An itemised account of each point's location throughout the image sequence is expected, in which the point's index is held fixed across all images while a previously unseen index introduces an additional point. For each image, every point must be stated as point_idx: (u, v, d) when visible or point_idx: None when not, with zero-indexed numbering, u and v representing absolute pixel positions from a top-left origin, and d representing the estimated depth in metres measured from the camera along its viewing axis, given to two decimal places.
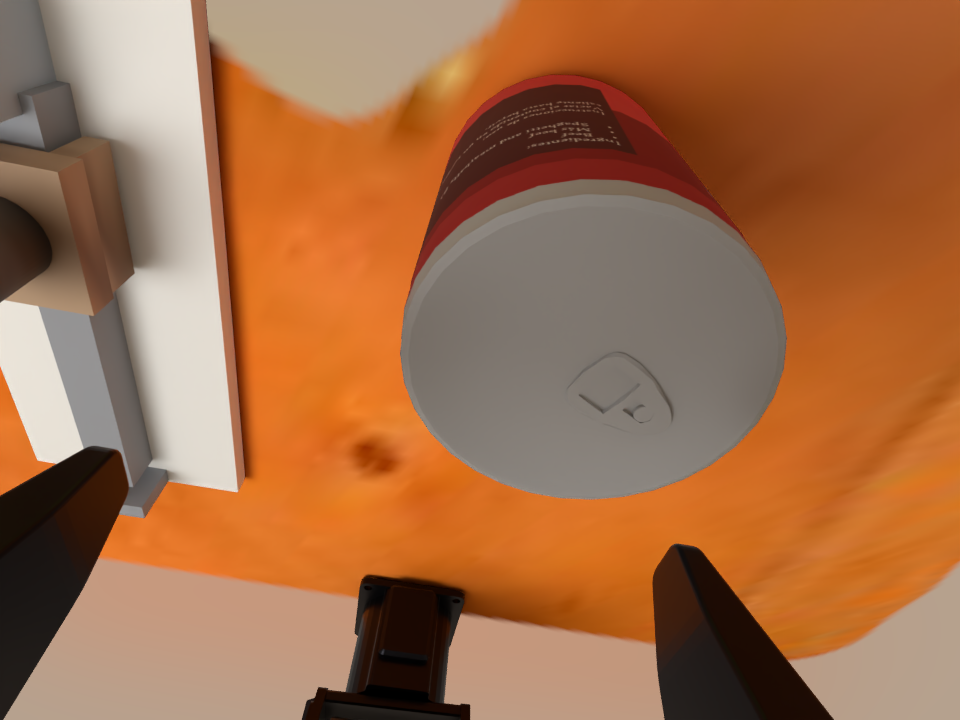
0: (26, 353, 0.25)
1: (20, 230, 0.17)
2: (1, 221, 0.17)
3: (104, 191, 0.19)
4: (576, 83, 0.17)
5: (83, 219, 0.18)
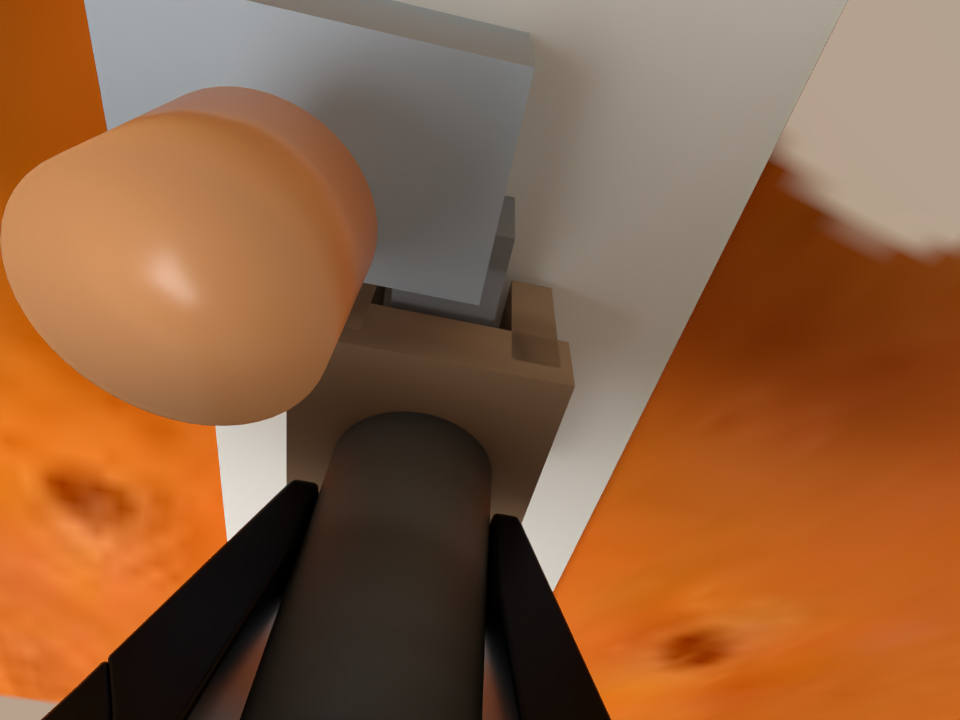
0: None
1: (484, 483, 0.09)
2: (469, 478, 0.09)
3: None
4: None
5: None
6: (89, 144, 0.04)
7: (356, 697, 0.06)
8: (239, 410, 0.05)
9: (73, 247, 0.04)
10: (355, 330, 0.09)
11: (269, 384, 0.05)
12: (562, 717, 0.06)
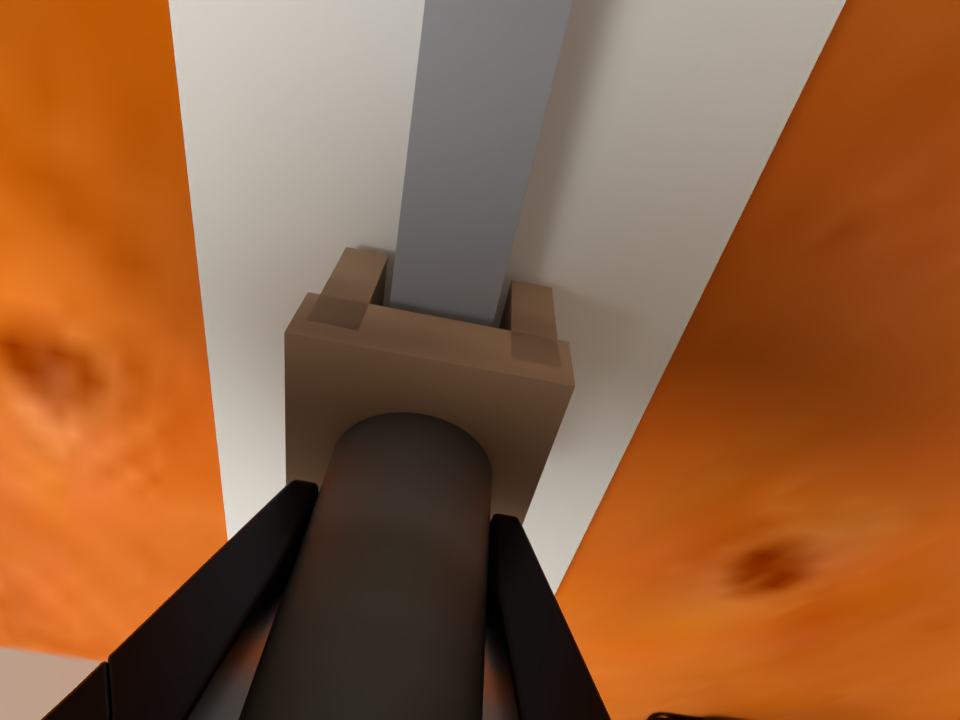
0: (270, 415, 0.14)
1: (484, 484, 0.09)
2: (469, 479, 0.09)
3: None
4: None
5: None
6: None
7: (355, 700, 0.06)
8: None
9: None
10: (353, 330, 0.09)
11: None
12: (562, 717, 0.06)
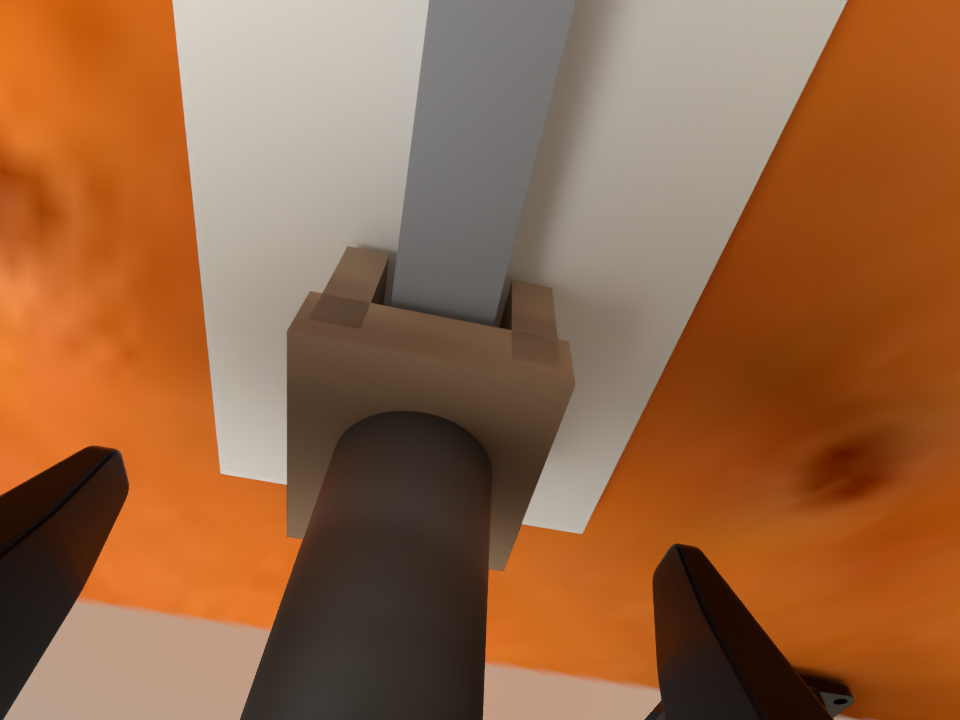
0: (267, 242, 0.11)
1: (484, 483, 0.09)
2: (470, 478, 0.09)
3: None
4: None
5: None
6: None
7: (357, 695, 0.06)
8: None
9: None
10: (355, 329, 0.09)
11: None
12: None
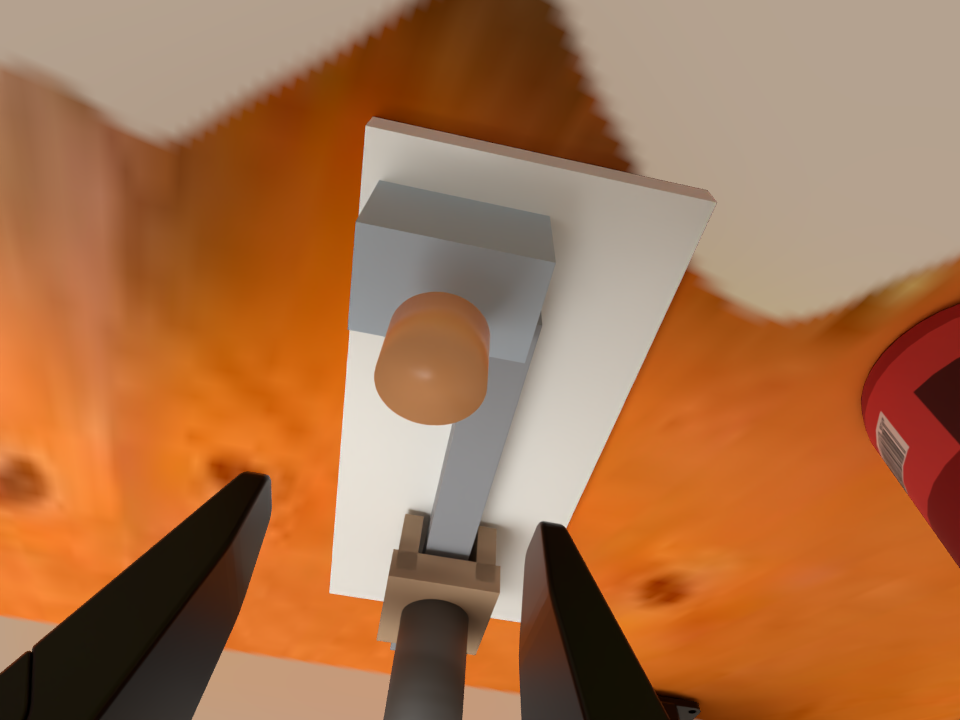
0: (368, 507, 0.25)
1: (464, 629, 0.23)
2: (458, 629, 0.22)
3: None
4: None
5: None
6: (417, 334, 0.11)
7: (423, 717, 0.19)
8: (444, 419, 0.13)
9: (402, 364, 0.12)
10: (413, 571, 0.22)
11: (458, 409, 0.12)
12: None
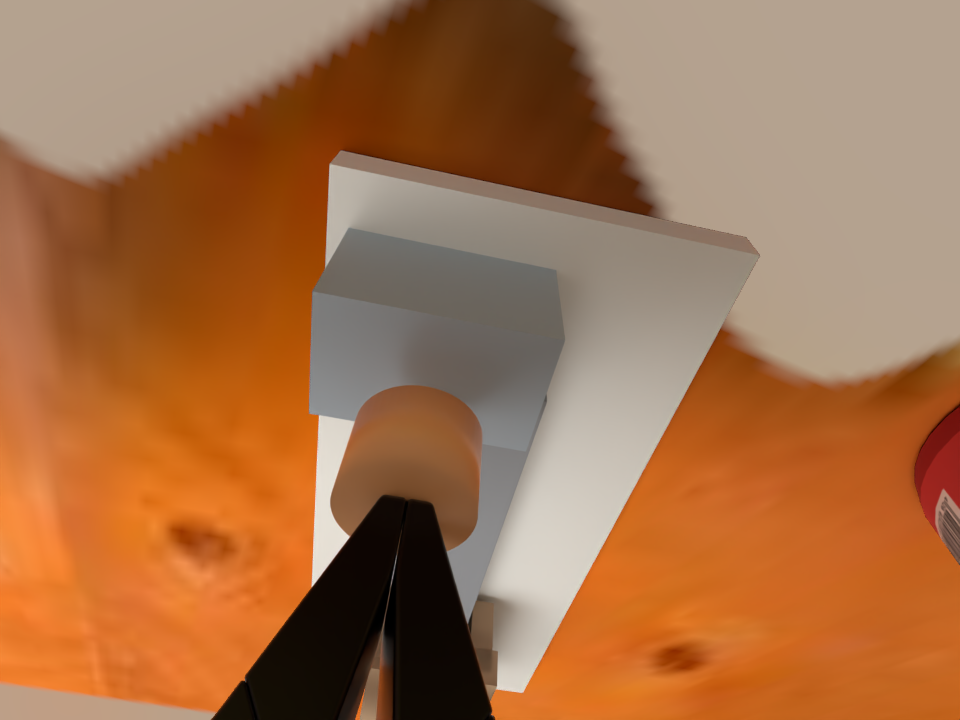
0: None
1: None
2: None
3: None
4: None
5: None
6: (384, 457, 0.09)
7: None
8: None
9: (365, 491, 0.09)
10: None
11: None
12: (438, 699, 0.06)
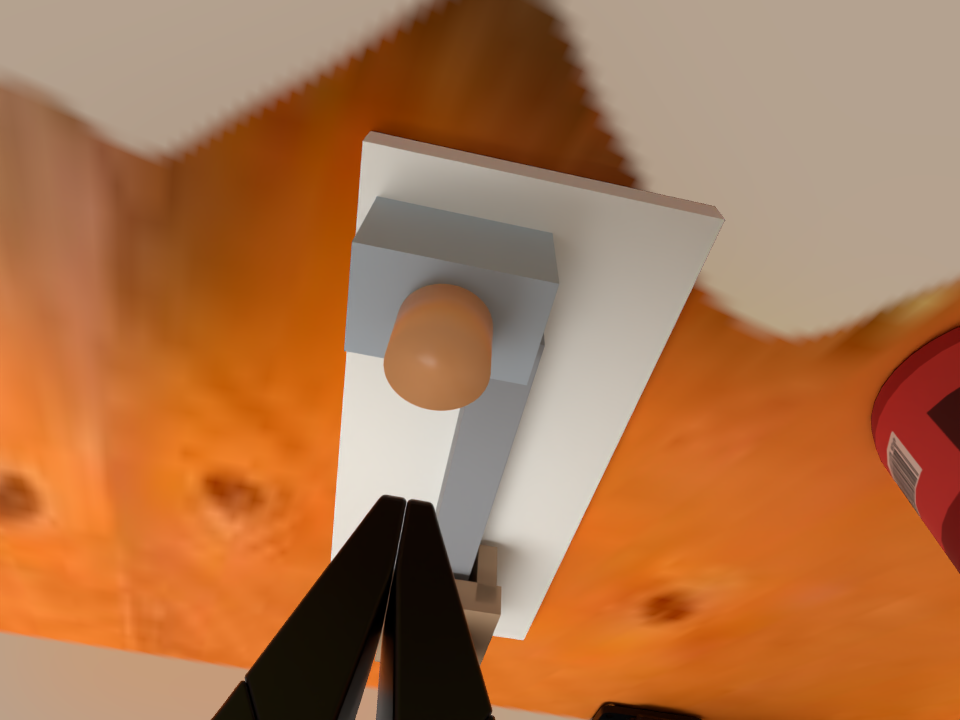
0: None
1: None
2: None
3: None
4: None
5: None
6: (424, 323, 0.12)
7: None
8: (450, 404, 0.13)
9: (410, 351, 0.13)
10: None
11: (463, 395, 0.13)
12: (438, 700, 0.06)
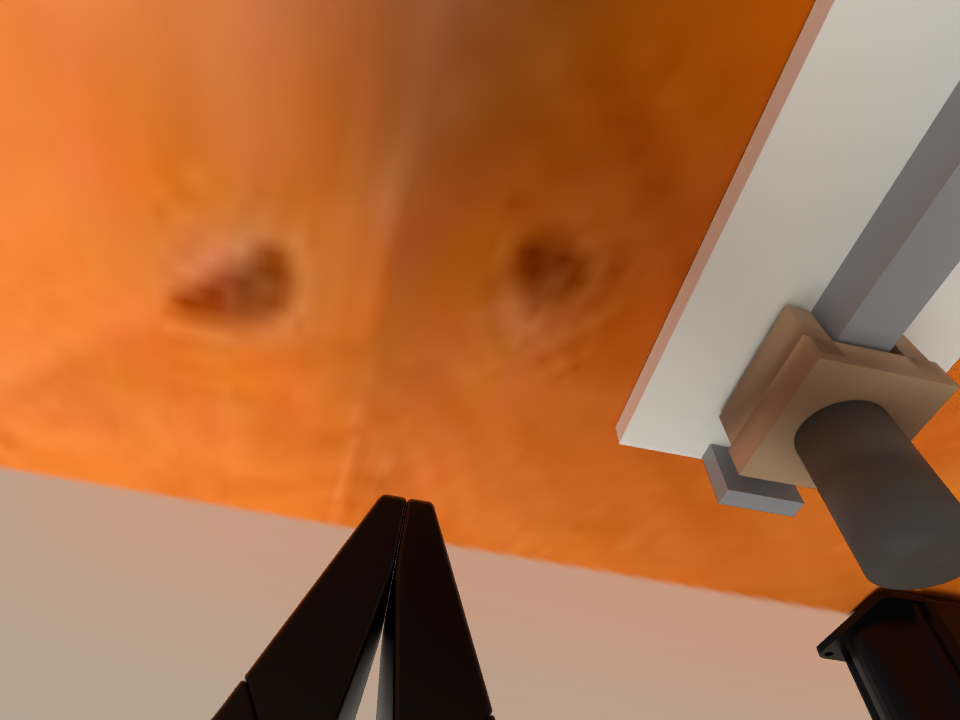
0: (730, 302, 0.19)
1: None
2: None
3: None
4: None
5: None
6: None
7: (953, 516, 0.14)
8: None
9: None
10: (844, 357, 0.17)
11: None
12: (438, 700, 0.06)
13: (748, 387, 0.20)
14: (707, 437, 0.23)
